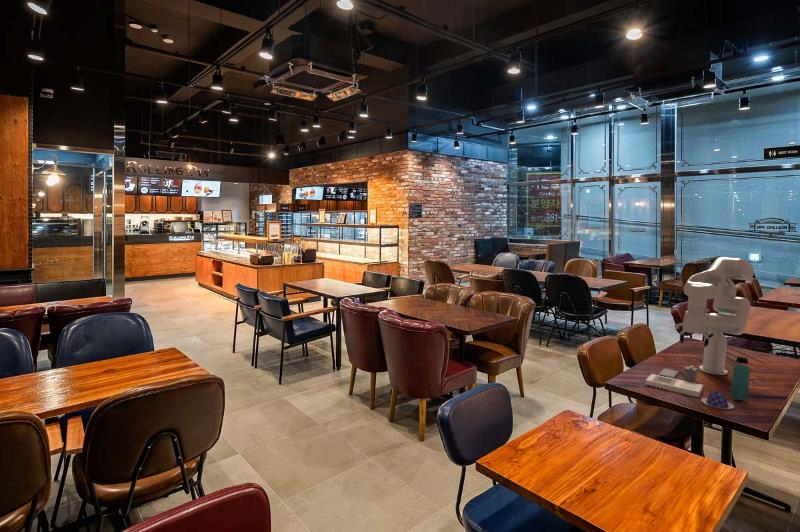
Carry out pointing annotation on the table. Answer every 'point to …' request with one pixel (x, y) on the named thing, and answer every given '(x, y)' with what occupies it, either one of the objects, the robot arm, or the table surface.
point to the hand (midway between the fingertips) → (693, 344)
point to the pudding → (717, 400)
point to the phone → (668, 373)
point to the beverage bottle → (740, 379)
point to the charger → (690, 374)
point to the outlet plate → (675, 385)
